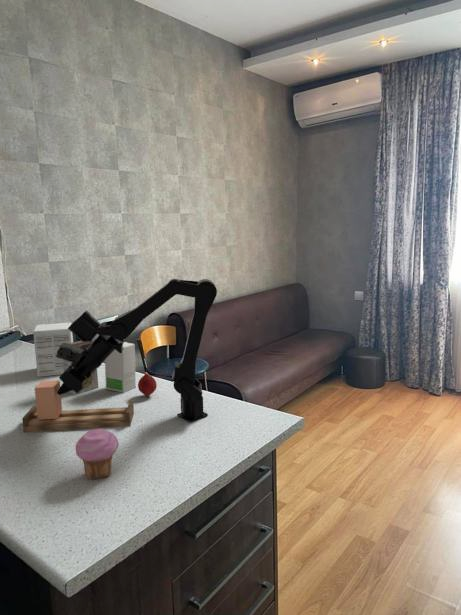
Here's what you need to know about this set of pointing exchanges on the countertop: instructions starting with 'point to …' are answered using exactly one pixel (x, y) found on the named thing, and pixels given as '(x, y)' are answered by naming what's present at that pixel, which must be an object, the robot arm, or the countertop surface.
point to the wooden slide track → (80, 419)
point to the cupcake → (97, 452)
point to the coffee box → (91, 381)
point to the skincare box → (121, 369)
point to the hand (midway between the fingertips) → (58, 393)
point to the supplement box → (50, 347)
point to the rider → (48, 400)
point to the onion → (147, 384)
